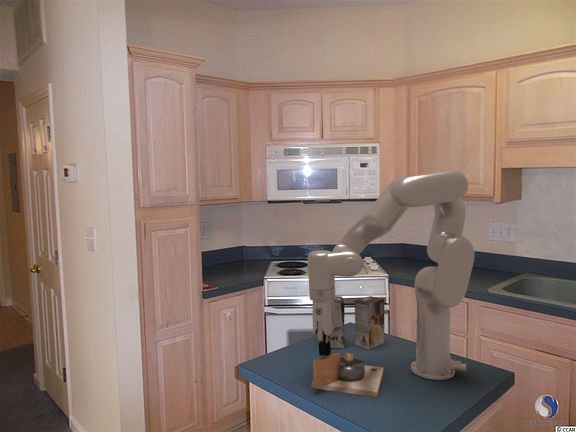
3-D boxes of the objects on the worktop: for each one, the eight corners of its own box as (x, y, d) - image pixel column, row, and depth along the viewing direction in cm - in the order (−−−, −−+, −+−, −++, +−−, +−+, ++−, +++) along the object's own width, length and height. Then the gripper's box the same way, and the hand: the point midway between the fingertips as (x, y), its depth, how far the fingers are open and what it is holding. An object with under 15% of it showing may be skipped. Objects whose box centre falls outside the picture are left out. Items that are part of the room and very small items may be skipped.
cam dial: (348, 364, 133) (348, 341, 132) (371, 375, 126) (371, 350, 125) (304, 380, 122) (304, 355, 122) (325, 393, 115) (325, 366, 115)
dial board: (383, 372, 131) (383, 367, 131) (377, 397, 116) (377, 391, 116) (324, 365, 137) (324, 360, 137) (311, 388, 122) (311, 382, 122)
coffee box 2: (370, 338, 160) (370, 295, 159) (384, 343, 155) (385, 298, 154) (354, 345, 154) (354, 300, 153) (369, 350, 149) (369, 303, 148)
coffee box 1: (344, 348, 151) (345, 302, 150) (326, 348, 151) (326, 302, 150) (342, 339, 160) (342, 295, 159) (324, 339, 160) (324, 295, 159)
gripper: (329, 300, 119) (332, 366, 120) (340, 287, 133) (342, 346, 134) (302, 299, 121) (306, 364, 122) (315, 286, 135) (318, 344, 137)
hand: (325, 354), depth 128 cm, fingers closed
